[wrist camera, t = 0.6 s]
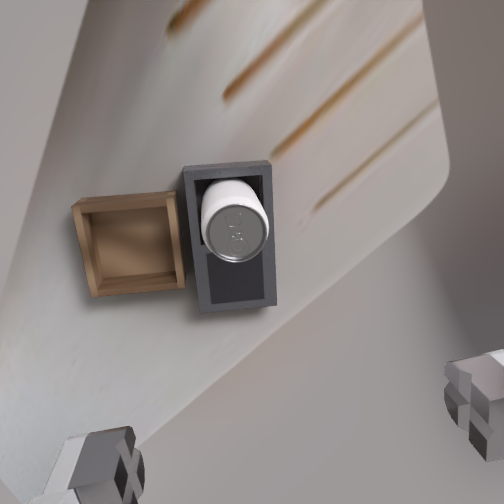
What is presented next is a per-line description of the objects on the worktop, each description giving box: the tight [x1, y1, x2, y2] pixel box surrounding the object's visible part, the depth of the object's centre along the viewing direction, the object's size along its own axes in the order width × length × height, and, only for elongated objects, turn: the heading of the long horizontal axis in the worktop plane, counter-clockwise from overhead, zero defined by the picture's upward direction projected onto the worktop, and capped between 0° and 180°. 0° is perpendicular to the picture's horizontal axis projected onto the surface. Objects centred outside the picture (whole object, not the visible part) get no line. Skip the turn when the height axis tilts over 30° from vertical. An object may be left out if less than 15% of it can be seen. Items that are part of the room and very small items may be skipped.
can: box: [201, 177, 269, 263], centre depth 43 cm, size 6×6×12 cm
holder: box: [71, 191, 187, 297], centre depth 47 cm, size 11×11×4 cm
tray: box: [183, 160, 277, 313], centre depth 48 cm, size 17×9×4 cm, turn 3°
